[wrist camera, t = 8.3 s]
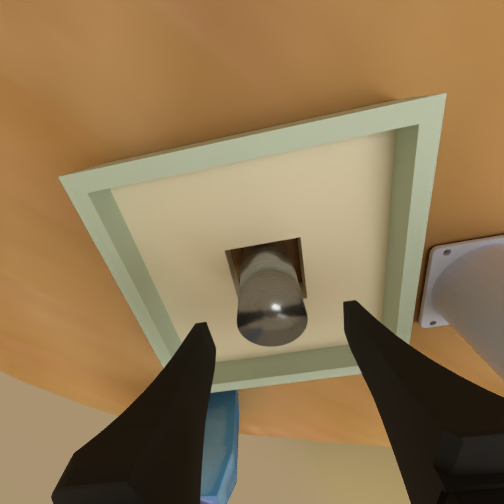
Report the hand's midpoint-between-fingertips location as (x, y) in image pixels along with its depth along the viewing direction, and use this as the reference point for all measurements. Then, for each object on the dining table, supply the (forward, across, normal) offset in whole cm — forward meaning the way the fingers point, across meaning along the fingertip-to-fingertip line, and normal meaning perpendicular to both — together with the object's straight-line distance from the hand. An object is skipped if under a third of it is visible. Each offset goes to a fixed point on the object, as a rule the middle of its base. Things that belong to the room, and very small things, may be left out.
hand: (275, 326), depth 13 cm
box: (+7, 0, 0) cm, 7 cm away
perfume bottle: (+7, +9, +16) cm, 20 cm away
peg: (+7, 0, -1) cm, 7 cm away
